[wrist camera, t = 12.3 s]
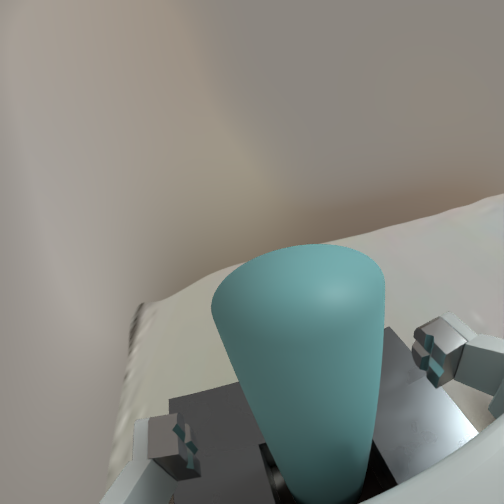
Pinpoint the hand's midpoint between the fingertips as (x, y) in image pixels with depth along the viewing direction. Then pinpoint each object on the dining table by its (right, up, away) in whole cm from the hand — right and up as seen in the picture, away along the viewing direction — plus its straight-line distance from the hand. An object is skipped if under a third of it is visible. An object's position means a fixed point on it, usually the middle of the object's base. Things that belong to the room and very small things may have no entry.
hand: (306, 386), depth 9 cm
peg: (+2, -8, +3) cm, 9 cm away
